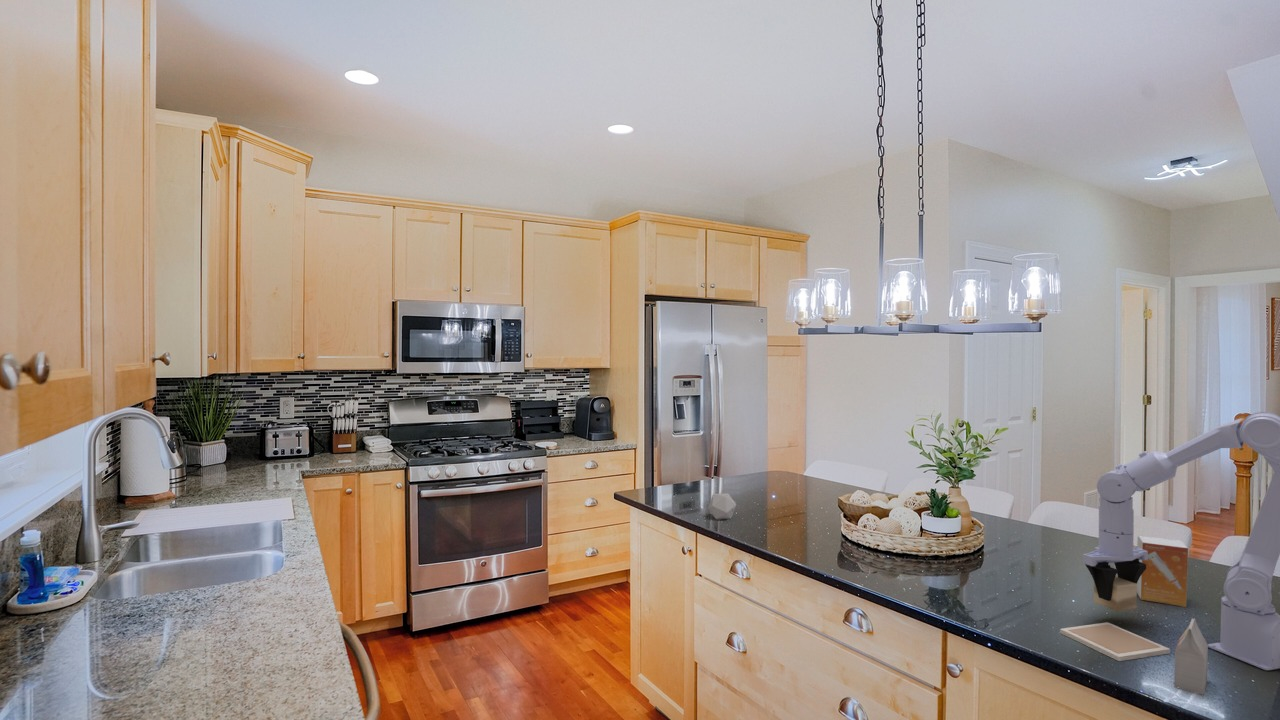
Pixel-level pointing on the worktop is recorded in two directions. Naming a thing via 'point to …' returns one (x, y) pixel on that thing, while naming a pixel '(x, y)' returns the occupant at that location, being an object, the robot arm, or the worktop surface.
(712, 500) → the die
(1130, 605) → the maple cube
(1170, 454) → the robot arm
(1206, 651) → the beige gable-top carton
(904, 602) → the worktop surface
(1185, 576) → the small box
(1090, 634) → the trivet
